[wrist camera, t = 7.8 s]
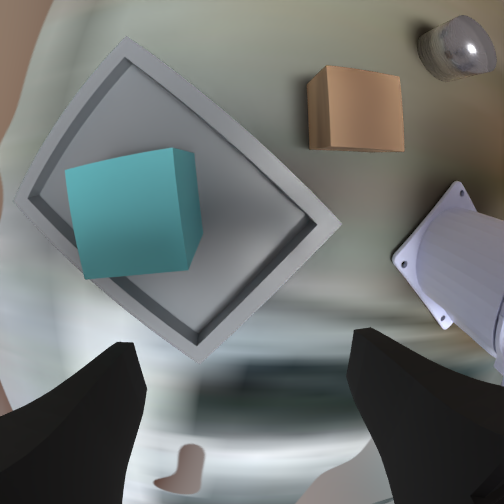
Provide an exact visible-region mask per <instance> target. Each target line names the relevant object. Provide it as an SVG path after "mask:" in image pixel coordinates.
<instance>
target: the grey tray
mask: <svg viewBox="0 0 504 504" xmlns="http://www.w3.org/2000/svg"><path fill="white" fill-rule="evenodd" d="M167 148H176V149H180V150H184V151H188V152H191V153H194V155H195V165H196V175H197V184H198V194H199V202H200V211H201V219H202V227H203V235H202V238H201V240H200V242H199V245H198V247H197V250H196V252H195V255H194V257H193V260H192V262H191V265H190V267H189V270H186V271H175V272H164V273H154V274H143V275H132V276H120V277H109V278H97V279H90V280H91V281H92V282H93V283H95V284H96V285H97V286H98V287H99V288H100V289H101V290H103V291H104V292H105V293H106V294H107V295H108V296H110V297H111V298H112V299H113V300H114V301H116V302H117V303H118V304H119V305H120V306H122V307H123V308H124V309H125V310H126V311H128V312H129V313H130V314H131V315H133V316H134V317H135V318H137V319H138V320H139V321H140V322H142V323H143V324H144V325H146V326H147V327H148V328H149V329H151V330H152V331H153V332H155V333H156V334H157V335H159V336H160V337H161V338H163V339H164V340H166V341H167V342H168V343H170V344H171V345H172V346H174V347H175V348H177V349H178V350H180V351H181V352H182V353H184V354H185V355H187V356H188V357H190V358H191V359H193V360H194V361H195V362H197V363H198V364H201V363H202V362H203V361H204V360H205V359H206V358H207V357H208V356H209V355H210V354H211V353H213V352H214V351H215V350H216V349H217V348H218V347H219V346H220V345H221V344H222V343H223V342H224V341H225V340H227V339H228V338H229V337H230V336H231V335H232V334H233V333H234V332H235V331H236V330H237V329H238V328H239V327H240V326H241V325H242V324H243V323H244V322H246V321H247V320H248V319H249V318H250V317H251V316H252V315H253V314H254V313H255V312H256V311H257V310H258V309H259V308H260V307H261V306H262V305H263V304H264V303H265V302H266V301H267V300H268V299H269V298H270V297H271V296H272V295H273V294H274V293H275V292H276V291H277V290H278V289H279V288H280V287H281V286H282V285H283V284H284V283H285V282H286V281H287V280H288V279H289V278H290V277H291V276H292V275H293V274H294V273H295V272H296V271H297V270H298V269H299V268H300V267H301V266H302V265H303V264H304V263H305V262H306V261H307V260H308V259H309V258H310V257H311V256H312V255H313V254H314V253H315V252H316V251H317V250H318V249H319V248H320V247H321V246H322V245H323V244H324V243H325V242H326V241H327V240H328V239H329V238H330V236H331V235H332V234H333V233H334V232H335V231H336V230H337V229H338V228H339V227H340V226H341V225H342V223H341V222H340V221H339V220H338V218H337V217H336V216H335V215H334V214H333V213H332V212H331V211H330V210H329V209H328V208H327V207H326V206H325V205H324V204H323V203H322V202H321V201H320V200H319V199H318V198H317V197H316V196H315V195H314V194H313V193H312V192H311V191H310V190H309V189H308V188H307V187H306V186H305V185H304V184H303V183H302V182H301V181H300V180H299V179H298V178H297V177H296V176H295V175H294V174H293V173H292V172H291V171H290V170H289V169H288V168H287V167H286V166H285V165H284V164H283V163H282V162H281V161H280V160H279V159H278V158H277V157H276V156H274V155H273V154H272V153H271V152H270V151H269V150H268V149H267V148H266V147H265V146H264V145H263V144H261V143H260V142H259V141H258V140H257V139H256V138H255V137H254V136H253V135H252V134H250V133H249V132H248V131H247V130H246V129H245V128H244V127H243V126H241V125H240V124H239V123H238V122H237V121H236V120H235V119H233V118H232V117H231V116H230V115H229V114H228V113H226V112H225V111H224V110H223V109H222V108H221V107H219V106H218V105H217V104H216V103H215V102H213V101H212V100H211V99H210V98H209V97H207V96H206V95H205V94H204V93H202V92H201V91H200V90H199V89H197V88H196V87H195V86H194V85H192V84H191V83H190V82H189V81H187V80H186V79H185V78H184V77H182V76H181V75H180V74H178V73H177V72H176V71H174V70H173V69H172V68H171V67H169V66H168V65H167V64H165V63H164V62H163V61H161V60H160V59H159V58H157V57H156V56H154V55H153V54H152V53H150V52H149V51H147V50H146V49H145V48H143V47H142V46H140V45H139V44H138V43H136V42H135V41H133V40H132V39H130V38H129V37H127V36H126V37H125V38H124V39H123V40H122V41H121V42H120V43H119V44H118V45H117V46H116V47H115V48H114V49H113V50H112V51H111V52H110V53H109V55H108V56H107V57H106V58H105V59H104V60H103V61H102V62H101V64H100V65H99V66H98V67H97V68H96V70H95V71H94V72H93V73H92V74H91V76H90V77H89V78H88V79H87V81H86V82H85V83H84V84H83V86H82V87H81V88H80V89H79V91H78V92H77V93H76V95H75V96H74V97H73V99H72V100H71V102H70V103H69V104H68V106H67V107H66V109H65V110H64V111H63V113H62V114H61V116H60V117H59V119H58V120H57V122H56V123H55V125H54V126H53V128H52V130H51V131H50V133H49V134H48V136H47V138H46V139H45V141H44V142H43V144H42V146H41V148H40V149H39V151H38V153H37V154H36V156H35V158H34V160H33V162H32V163H31V165H30V167H29V169H28V171H27V173H26V175H25V177H24V179H23V181H22V183H21V185H20V187H19V189H18V191H17V193H16V195H15V197H14V200H13V202H14V203H15V204H16V206H17V207H18V208H19V209H20V210H21V211H22V212H23V213H24V215H25V216H26V217H27V218H28V219H29V220H30V221H31V222H32V223H33V224H34V225H35V227H36V228H37V229H38V230H39V231H40V232H41V233H42V234H43V235H44V236H45V237H46V238H47V239H48V240H49V241H50V242H51V243H52V244H53V245H54V246H55V247H56V248H57V249H58V250H59V251H60V252H61V253H62V254H63V255H64V256H65V257H66V258H67V259H68V260H69V261H70V262H71V263H73V264H74V265H75V266H76V267H77V268H78V269H79V270H80V271H81V272H82V273H83V270H82V266H81V261H80V257H79V253H78V248H77V244H76V239H75V234H74V229H73V224H72V218H71V212H70V206H69V200H68V193H67V185H66V177H65V170H67V169H71V168H75V167H78V166H82V165H87V164H91V163H95V162H99V161H104V160H108V159H113V158H118V157H122V156H127V155H132V154H138V153H143V152H149V151H154V150H160V149H167Z"/></svg>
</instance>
